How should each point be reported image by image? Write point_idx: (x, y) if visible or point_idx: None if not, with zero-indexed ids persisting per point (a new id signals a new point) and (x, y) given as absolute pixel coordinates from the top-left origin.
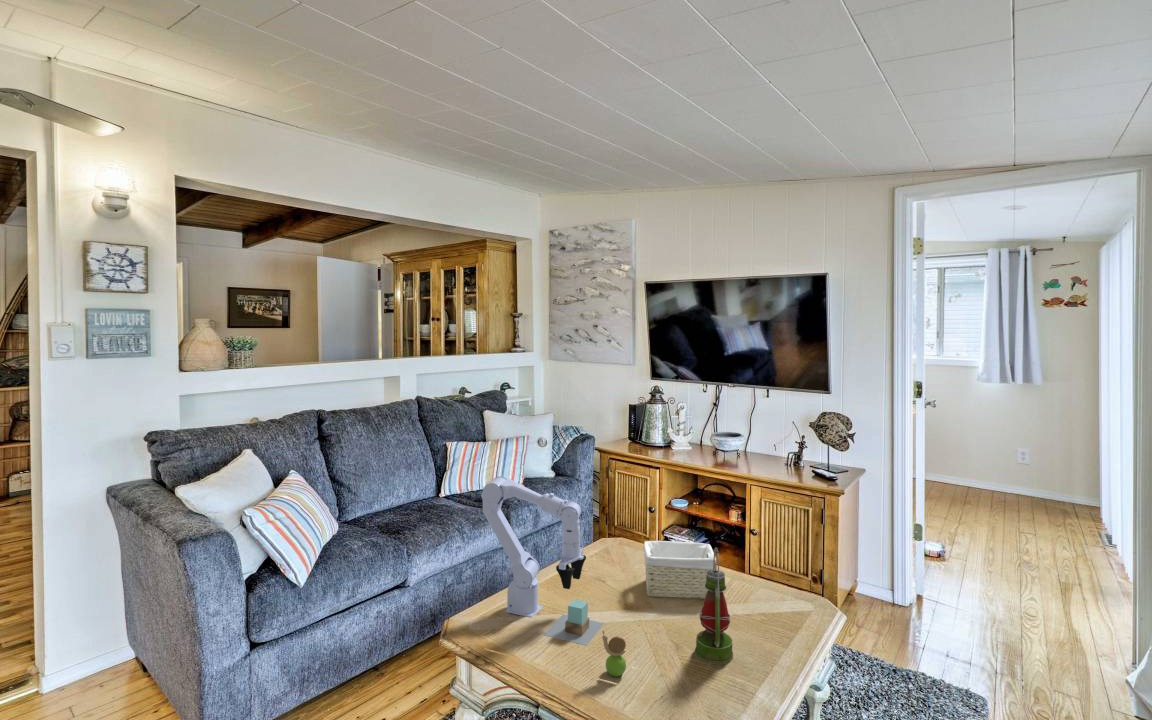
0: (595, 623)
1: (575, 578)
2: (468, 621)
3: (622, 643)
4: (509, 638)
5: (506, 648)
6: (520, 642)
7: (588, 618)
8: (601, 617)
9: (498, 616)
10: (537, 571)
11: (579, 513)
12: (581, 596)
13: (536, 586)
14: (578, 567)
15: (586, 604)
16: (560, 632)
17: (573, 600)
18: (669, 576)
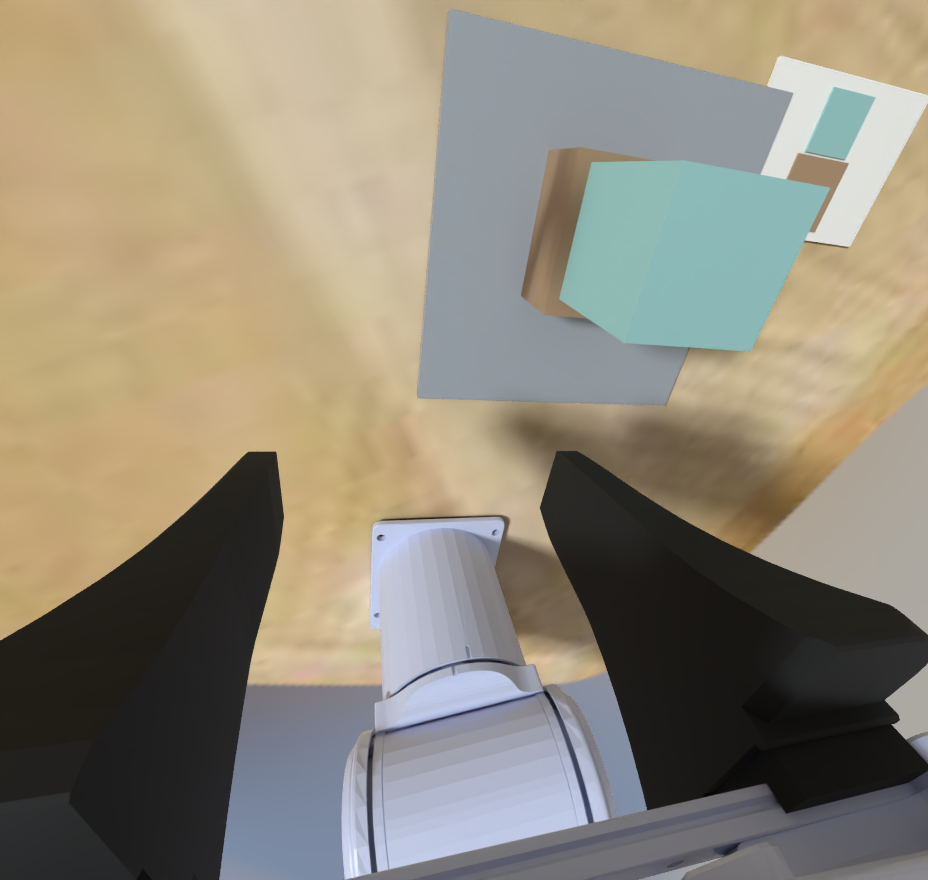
0: (478, 106)
1: (280, 496)
2: (574, 658)
3: None
4: (679, 512)
5: (751, 489)
6: (710, 465)
7: (595, 151)
8: (329, 80)
9: (518, 614)
10: (414, 773)
11: None
12: (69, 378)
13: (472, 655)
14: (223, 598)
15: (710, 167)
16: None
17: (648, 340)
18: None
